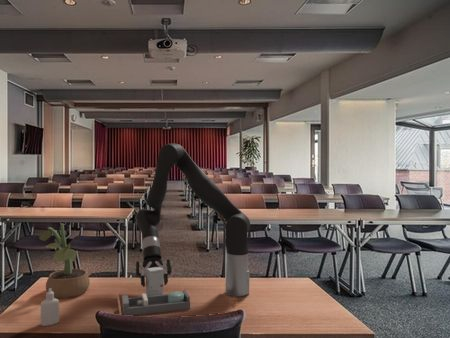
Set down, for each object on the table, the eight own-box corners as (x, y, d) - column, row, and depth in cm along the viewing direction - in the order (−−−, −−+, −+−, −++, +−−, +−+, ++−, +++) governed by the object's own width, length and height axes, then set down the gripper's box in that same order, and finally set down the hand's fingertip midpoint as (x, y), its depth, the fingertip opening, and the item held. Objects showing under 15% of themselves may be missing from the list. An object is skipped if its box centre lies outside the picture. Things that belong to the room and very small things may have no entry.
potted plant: (52, 285, 167) (51, 216, 166) (94, 284, 169) (94, 216, 167) (29, 305, 145) (29, 226, 143) (78, 305, 146) (79, 227, 145)
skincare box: (149, 301, 151) (149, 271, 150) (145, 298, 155) (145, 268, 154) (163, 298, 154) (164, 269, 154) (159, 295, 158) (159, 266, 157)
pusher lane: (184, 301, 152) (184, 288, 152) (190, 311, 143) (190, 298, 142) (121, 307, 145) (121, 294, 145) (123, 318, 135) (123, 304, 135)
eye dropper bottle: (43, 320, 132) (43, 286, 132) (60, 320, 133) (60, 286, 133) (38, 326, 128) (38, 291, 128) (56, 326, 129) (56, 290, 128)
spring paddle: (145, 303, 146) (145, 293, 146) (147, 311, 139) (148, 300, 139) (136, 304, 145) (136, 294, 145) (138, 312, 138) (138, 301, 138)
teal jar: (181, 301, 150) (182, 290, 150) (185, 306, 144) (185, 296, 144) (166, 302, 148) (166, 292, 148) (169, 308, 142) (169, 298, 142)
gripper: (135, 245, 159) (137, 282, 148) (169, 243, 163) (173, 279, 153) (133, 255, 164) (135, 291, 154) (167, 253, 168) (171, 287, 158)
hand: (154, 285), depth 153 cm, fingers open, 8 cm apart
